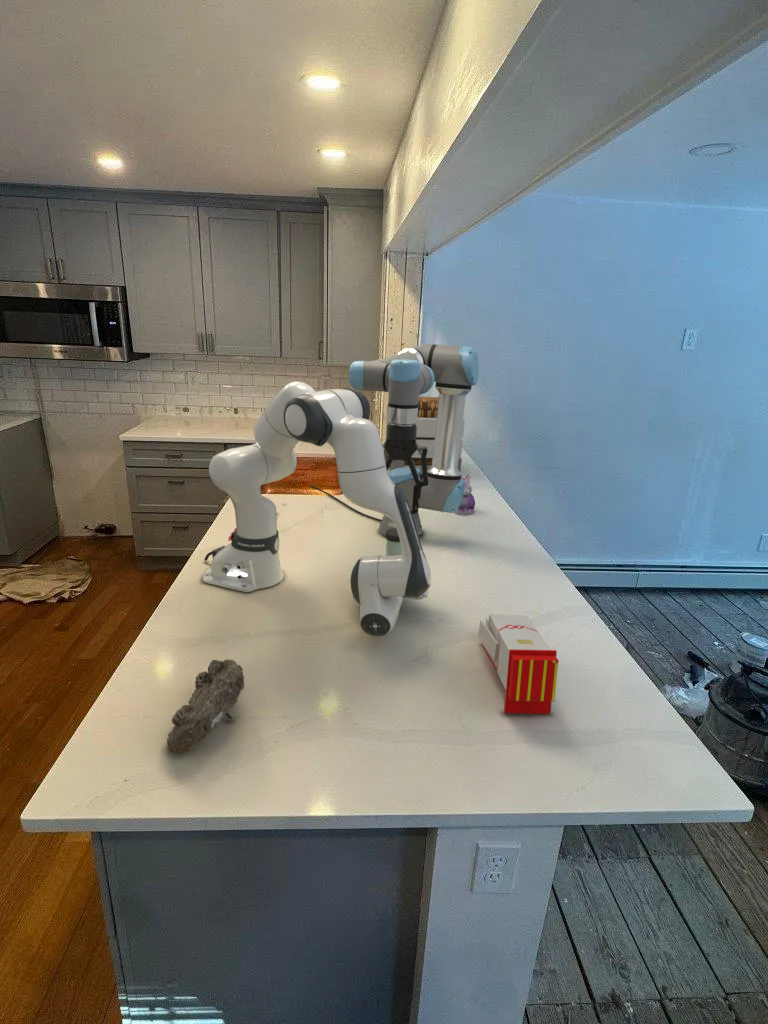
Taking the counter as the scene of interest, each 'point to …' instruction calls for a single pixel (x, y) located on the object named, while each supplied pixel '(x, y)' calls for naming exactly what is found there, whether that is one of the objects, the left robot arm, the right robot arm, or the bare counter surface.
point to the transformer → (424, 433)
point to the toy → (521, 662)
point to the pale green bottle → (393, 548)
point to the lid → (392, 535)
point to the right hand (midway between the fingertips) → (397, 509)
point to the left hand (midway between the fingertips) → (394, 570)
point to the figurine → (466, 498)
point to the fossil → (206, 705)
